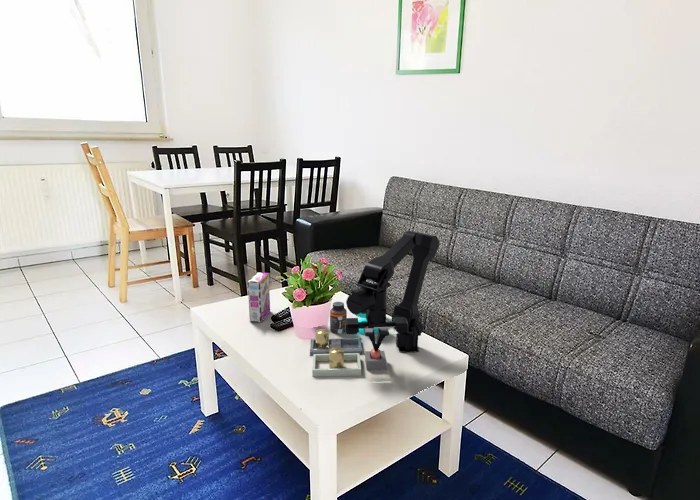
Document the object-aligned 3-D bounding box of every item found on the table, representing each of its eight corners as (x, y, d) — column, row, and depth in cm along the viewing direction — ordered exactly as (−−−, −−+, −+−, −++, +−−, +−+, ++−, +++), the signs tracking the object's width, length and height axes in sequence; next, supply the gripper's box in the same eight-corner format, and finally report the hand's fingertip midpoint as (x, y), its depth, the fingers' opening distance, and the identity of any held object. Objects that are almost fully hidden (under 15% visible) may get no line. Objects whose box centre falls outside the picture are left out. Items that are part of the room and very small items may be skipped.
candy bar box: (262, 323, 168) (259, 282, 164) (249, 322, 169) (246, 281, 164) (271, 311, 179) (269, 272, 174) (259, 310, 180) (256, 271, 175)
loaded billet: (329, 344, 150) (328, 328, 148) (329, 351, 146) (328, 334, 144) (316, 345, 150) (315, 328, 148) (315, 351, 146) (315, 335, 144)
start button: (379, 357, 139) (379, 348, 138) (380, 361, 136) (380, 352, 135) (370, 357, 139) (370, 348, 138) (371, 361, 136) (371, 353, 135)
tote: (359, 361, 142) (359, 353, 141) (361, 378, 133) (361, 369, 132) (313, 362, 141) (313, 354, 140) (312, 379, 132) (312, 370, 131)
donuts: (383, 302, 162) (375, 313, 153) (383, 327, 165) (374, 339, 156) (357, 298, 166) (348, 308, 157) (357, 323, 168) (348, 334, 160)
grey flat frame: (360, 342, 154) (360, 336, 153) (362, 357, 144) (362, 350, 143) (311, 343, 153) (310, 337, 152) (309, 358, 143) (309, 351, 143)
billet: (343, 364, 139) (343, 347, 137) (344, 372, 135) (344, 354, 133) (329, 364, 139) (329, 347, 137) (329, 372, 135) (329, 354, 133)
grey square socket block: (383, 362, 141) (384, 350, 140) (386, 372, 136) (386, 360, 134) (365, 362, 141) (365, 351, 140) (366, 373, 135) (366, 361, 134)
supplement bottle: (344, 337, 158) (344, 307, 154) (328, 335, 159) (327, 306, 156) (348, 329, 163) (348, 301, 160) (332, 328, 164) (332, 299, 161)
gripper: (403, 292, 141) (402, 337, 145) (344, 293, 140) (344, 338, 144) (409, 307, 130) (407, 355, 134) (345, 308, 129) (345, 356, 133)
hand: (375, 350), depth 137 cm, fingers closed, pressing on start button
